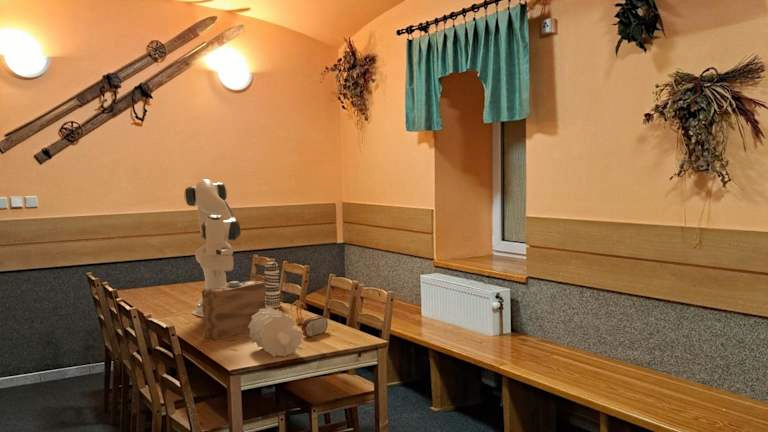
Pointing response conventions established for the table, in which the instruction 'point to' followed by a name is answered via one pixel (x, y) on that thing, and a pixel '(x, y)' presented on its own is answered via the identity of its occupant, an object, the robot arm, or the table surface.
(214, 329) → the button console
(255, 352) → the table surface
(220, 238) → the robot arm
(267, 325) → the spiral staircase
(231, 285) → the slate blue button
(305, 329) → the tin
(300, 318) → the figurine
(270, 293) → the decorative candle
